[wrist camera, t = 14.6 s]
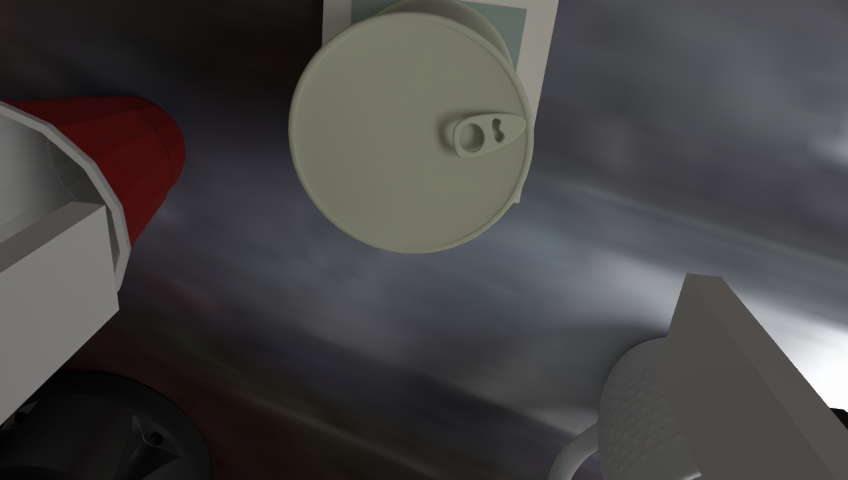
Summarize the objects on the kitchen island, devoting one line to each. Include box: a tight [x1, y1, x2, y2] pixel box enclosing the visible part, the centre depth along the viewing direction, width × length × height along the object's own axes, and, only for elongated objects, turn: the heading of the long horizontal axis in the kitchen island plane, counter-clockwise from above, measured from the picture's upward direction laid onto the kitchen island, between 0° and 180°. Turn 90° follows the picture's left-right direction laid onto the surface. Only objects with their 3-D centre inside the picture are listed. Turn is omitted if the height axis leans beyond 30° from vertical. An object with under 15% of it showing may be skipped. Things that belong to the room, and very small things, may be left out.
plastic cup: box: [0, 96, 186, 292], centre depth 31 cm, size 11×11×12 cm
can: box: [288, 0, 534, 254], centre depth 27 cm, size 9×9×12 cm
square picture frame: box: [322, 0, 559, 203], centre depth 33 cm, size 12×12×1 cm
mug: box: [548, 337, 704, 480], centre depth 35 cm, size 15×11×13 cm
